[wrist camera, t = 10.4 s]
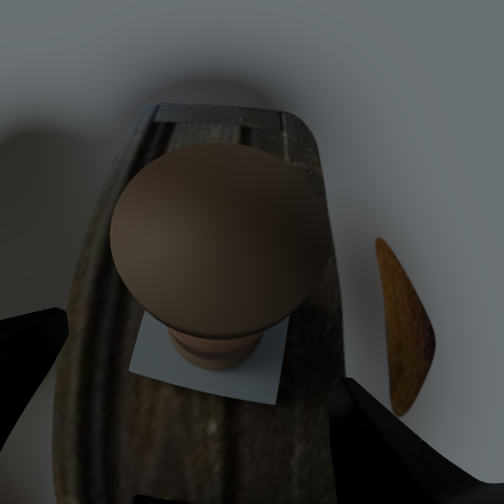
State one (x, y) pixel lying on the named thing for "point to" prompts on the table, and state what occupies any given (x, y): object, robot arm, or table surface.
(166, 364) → the grey bridge block
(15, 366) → the robot arm
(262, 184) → the brown flanged cylinder
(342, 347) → the table surface
